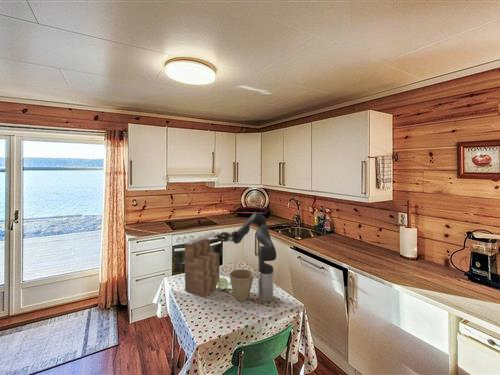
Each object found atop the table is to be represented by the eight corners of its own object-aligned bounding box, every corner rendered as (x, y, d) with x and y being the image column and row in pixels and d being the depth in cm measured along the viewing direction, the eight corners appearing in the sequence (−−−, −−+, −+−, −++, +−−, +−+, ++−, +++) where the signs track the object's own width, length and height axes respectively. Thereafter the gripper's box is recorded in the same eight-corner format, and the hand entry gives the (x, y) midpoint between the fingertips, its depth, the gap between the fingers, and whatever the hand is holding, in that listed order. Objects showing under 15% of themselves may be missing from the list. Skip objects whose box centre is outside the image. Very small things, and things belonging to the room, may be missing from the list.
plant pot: (255, 294, 160) (256, 270, 159) (249, 306, 146) (250, 280, 144) (234, 291, 164) (234, 267, 163) (226, 302, 150) (226, 277, 148)
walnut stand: (201, 281, 177) (201, 237, 174) (219, 287, 169) (219, 241, 166) (185, 291, 163) (184, 243, 161) (203, 297, 155) (203, 248, 153)
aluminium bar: (212, 235, 181) (212, 231, 181) (215, 236, 179) (215, 232, 179) (188, 244, 160) (188, 239, 160) (192, 244, 159) (191, 240, 158)
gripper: (219, 230, 200) (207, 230, 186) (234, 233, 194) (223, 232, 180) (217, 240, 199) (206, 240, 185) (232, 243, 193) (222, 243, 179)
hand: (214, 236), depth 182 cm, fingers open, 8 cm apart
